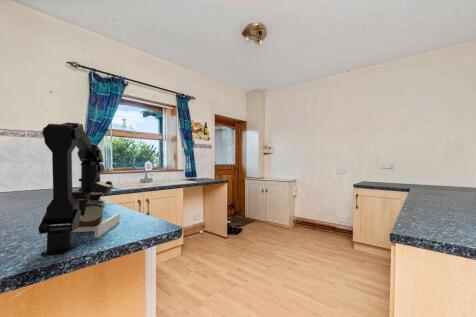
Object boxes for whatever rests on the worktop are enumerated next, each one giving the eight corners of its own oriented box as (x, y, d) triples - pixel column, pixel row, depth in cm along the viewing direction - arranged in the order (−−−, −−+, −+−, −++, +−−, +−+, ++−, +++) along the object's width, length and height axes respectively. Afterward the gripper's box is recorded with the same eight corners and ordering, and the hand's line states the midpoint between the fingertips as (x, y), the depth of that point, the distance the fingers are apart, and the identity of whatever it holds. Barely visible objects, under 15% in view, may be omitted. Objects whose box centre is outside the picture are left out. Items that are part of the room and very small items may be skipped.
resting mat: (100, 230, 85) (100, 230, 85) (58, 232, 82) (58, 231, 82) (113, 222, 96) (113, 221, 96) (77, 223, 94) (77, 222, 94)
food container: (110, 222, 95) (110, 200, 95) (103, 226, 89) (103, 203, 89) (80, 223, 93) (80, 200, 93) (71, 227, 87) (71, 203, 87)
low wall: (98, 237, 77) (98, 226, 77) (94, 238, 77) (94, 227, 77) (119, 222, 97) (119, 213, 97) (116, 222, 97) (116, 213, 97)
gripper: (99, 177, 82) (98, 218, 81) (118, 174, 100) (117, 207, 100) (67, 177, 80) (66, 219, 80) (92, 174, 98) (92, 208, 98)
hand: (88, 212), depth 89 cm, fingers open, 9 cm apart
